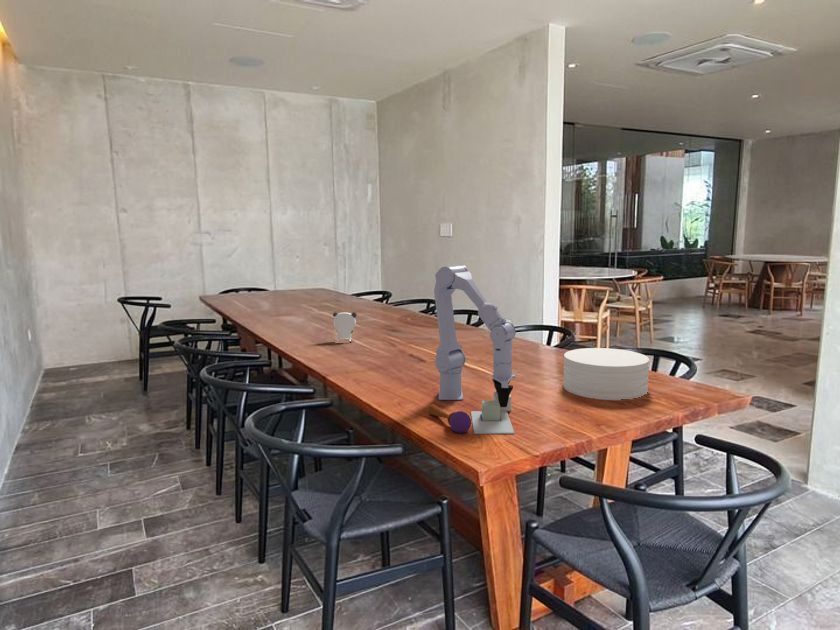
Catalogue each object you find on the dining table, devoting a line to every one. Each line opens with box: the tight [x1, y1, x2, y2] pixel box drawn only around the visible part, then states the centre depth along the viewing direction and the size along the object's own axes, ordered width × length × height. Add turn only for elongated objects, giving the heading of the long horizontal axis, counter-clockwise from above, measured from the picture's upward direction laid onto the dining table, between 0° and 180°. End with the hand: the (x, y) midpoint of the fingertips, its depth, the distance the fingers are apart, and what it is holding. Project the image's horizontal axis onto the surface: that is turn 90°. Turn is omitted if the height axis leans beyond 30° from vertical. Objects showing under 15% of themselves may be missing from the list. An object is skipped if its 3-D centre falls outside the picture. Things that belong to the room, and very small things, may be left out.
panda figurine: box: [332, 311, 358, 341], centre depth 281 cm, size 12×11×15 cm
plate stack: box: [562, 347, 650, 401], centre depth 194 cm, size 28×28×12 cm
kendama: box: [426, 403, 472, 434], centre depth 161 cm, size 6×6×20 cm
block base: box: [481, 400, 500, 421], centre depth 164 cm, size 5×5×4 cm
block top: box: [493, 391, 512, 412], centre depth 174 cm, size 5×5×4 cm
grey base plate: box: [470, 410, 515, 435], centre depth 162 cm, size 18×11×1 cm, turn 178°
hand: (502, 403), depth 174 cm, fingers closed on block top, 5 cm apart
